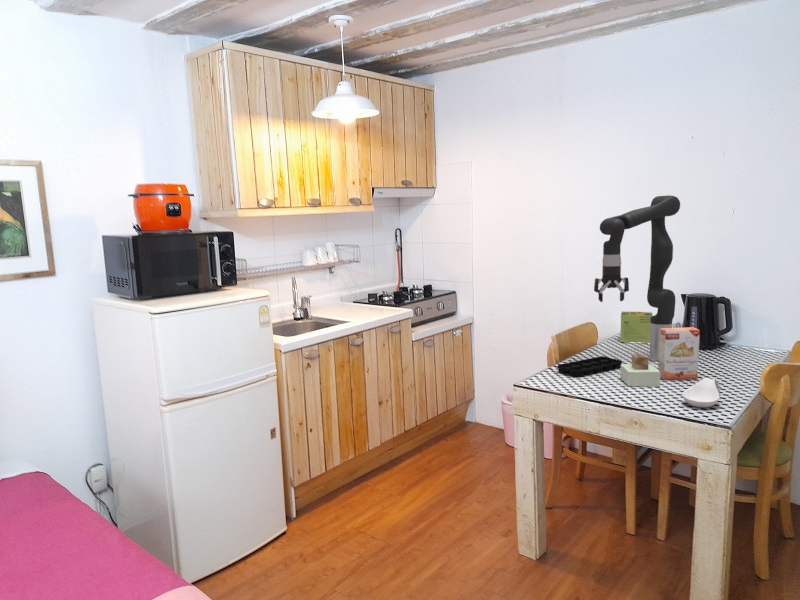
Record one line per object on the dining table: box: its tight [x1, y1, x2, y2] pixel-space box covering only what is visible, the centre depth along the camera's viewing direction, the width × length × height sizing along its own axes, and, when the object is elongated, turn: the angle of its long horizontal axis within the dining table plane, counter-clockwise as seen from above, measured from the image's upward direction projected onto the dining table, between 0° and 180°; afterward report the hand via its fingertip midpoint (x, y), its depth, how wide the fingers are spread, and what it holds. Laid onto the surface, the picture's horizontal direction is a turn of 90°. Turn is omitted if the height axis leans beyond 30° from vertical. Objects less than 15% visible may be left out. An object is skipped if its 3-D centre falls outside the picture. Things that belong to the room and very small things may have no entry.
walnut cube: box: [631, 353, 650, 370], centre depth 231 cm, size 5×5×5 cm
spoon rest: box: [681, 377, 721, 408], centre depth 207 cm, size 24×12×7 cm, turn 139°
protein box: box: [619, 310, 653, 343], centre depth 303 cm, size 10×15×16 cm
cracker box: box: [657, 326, 701, 381], centre depth 235 cm, size 14×6×21 cm, turn 90°
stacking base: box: [620, 363, 661, 388], centre depth 232 cm, size 12×12×6 cm
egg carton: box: [556, 355, 623, 378], centre depth 253 cm, size 18×30×4 cm, turn 130°
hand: (611, 301), depth 251 cm, fingers open, 8 cm apart
